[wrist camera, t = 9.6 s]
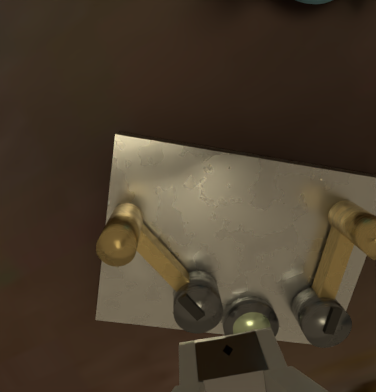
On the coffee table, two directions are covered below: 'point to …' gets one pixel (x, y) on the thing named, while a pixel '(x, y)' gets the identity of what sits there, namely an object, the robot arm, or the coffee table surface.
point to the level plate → (227, 231)
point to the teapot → (314, 1)
